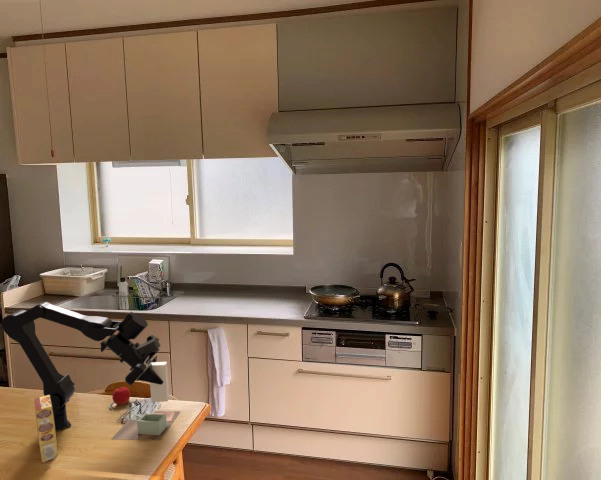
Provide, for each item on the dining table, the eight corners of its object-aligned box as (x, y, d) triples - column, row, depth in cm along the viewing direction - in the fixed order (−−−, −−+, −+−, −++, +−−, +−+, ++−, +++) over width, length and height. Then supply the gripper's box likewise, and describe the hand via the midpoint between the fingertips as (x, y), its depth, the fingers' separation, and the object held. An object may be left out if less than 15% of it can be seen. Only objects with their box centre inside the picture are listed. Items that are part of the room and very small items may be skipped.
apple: (104, 410, 151) (103, 392, 150) (117, 399, 159) (115, 382, 158) (127, 411, 150) (125, 393, 149) (138, 400, 158) (137, 382, 157)
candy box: (58, 458, 125) (53, 405, 123) (41, 463, 123) (35, 410, 121) (55, 443, 132) (50, 393, 131) (39, 448, 130) (33, 398, 128)
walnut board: (111, 442, 132) (111, 438, 132) (136, 413, 148) (136, 410, 148) (161, 443, 131) (160, 439, 131) (180, 414, 147) (180, 411, 147)
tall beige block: (151, 402, 141) (148, 365, 140) (153, 398, 144) (151, 362, 142) (167, 401, 141) (165, 364, 140) (169, 397, 144) (167, 361, 143)
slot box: (137, 433, 134) (136, 421, 134) (145, 425, 139) (144, 413, 138) (159, 435, 133) (158, 422, 133) (166, 426, 138) (166, 414, 137)
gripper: (133, 341, 130) (174, 375, 132) (151, 321, 149) (186, 352, 151) (107, 368, 131) (148, 402, 133) (128, 345, 149) (164, 375, 151)
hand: (163, 381), depth 142 cm, fingers closed on tall beige block, 3 cm apart
